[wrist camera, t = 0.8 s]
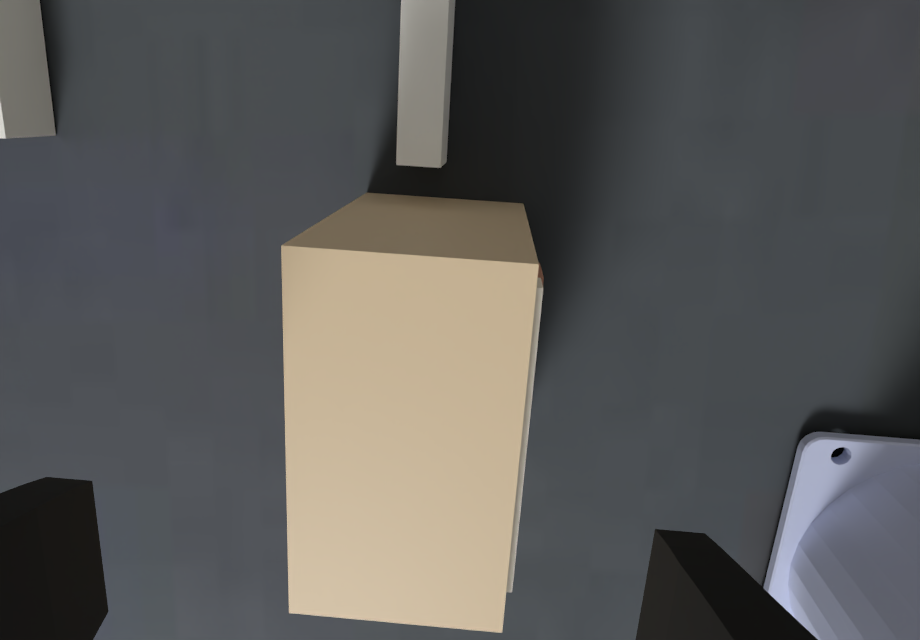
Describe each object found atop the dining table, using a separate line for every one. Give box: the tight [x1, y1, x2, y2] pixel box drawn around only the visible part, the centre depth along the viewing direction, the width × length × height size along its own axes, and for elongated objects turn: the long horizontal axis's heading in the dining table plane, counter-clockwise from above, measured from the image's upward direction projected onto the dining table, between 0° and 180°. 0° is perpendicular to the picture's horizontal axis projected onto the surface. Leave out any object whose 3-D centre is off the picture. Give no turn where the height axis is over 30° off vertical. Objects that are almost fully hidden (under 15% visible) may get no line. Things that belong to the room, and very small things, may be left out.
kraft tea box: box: [281, 193, 544, 633], centre depth 15 cm, size 7×4×7 cm, turn 176°
